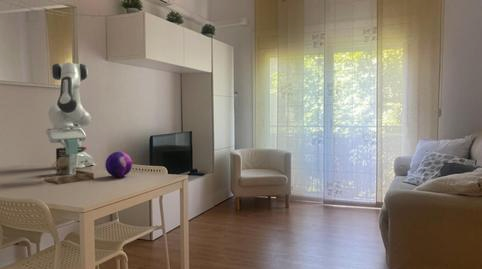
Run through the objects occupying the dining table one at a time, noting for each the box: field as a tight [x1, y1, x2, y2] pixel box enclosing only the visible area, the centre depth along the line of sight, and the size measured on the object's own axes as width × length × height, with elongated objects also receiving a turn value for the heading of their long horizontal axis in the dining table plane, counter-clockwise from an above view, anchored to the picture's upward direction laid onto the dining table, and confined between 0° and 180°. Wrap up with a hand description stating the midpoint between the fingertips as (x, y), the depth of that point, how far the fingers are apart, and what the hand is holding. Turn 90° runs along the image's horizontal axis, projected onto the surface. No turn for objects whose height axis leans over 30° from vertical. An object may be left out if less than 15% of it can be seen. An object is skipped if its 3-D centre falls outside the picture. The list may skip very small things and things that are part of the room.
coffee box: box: [55, 147, 76, 176], centre depth 224 cm, size 9×6×16 cm
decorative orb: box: [104, 151, 133, 178], centre depth 215 cm, size 15×15×15 cm
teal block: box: [66, 140, 78, 155], centre depth 204 cm, size 5×4×8 cm
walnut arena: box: [44, 169, 95, 185], centre depth 205 cm, size 20×18×4 cm
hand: (72, 146), depth 204 cm, fingers closed on teal block, 5 cm apart
